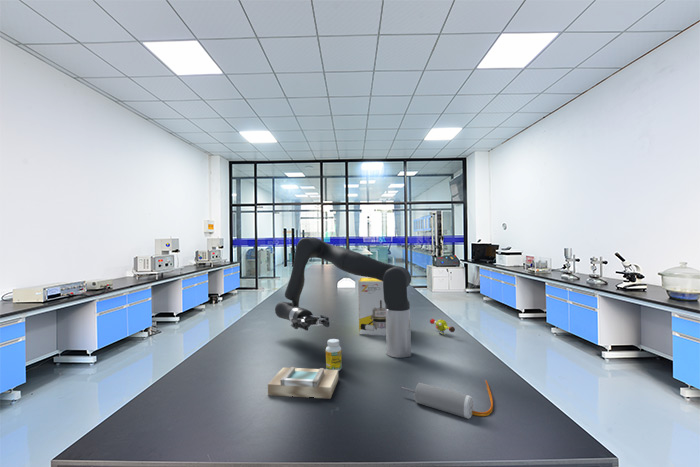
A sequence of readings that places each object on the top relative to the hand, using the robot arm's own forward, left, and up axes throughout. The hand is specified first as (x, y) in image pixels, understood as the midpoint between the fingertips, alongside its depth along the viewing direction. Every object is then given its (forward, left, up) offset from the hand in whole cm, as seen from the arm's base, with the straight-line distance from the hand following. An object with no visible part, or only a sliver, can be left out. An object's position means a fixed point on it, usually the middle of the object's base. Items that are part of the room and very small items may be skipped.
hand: (318, 326), depth 114 cm
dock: (-1, +23, -12) cm, 26 cm away
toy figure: (-50, -36, -12) cm, 63 cm away
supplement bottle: (-7, +9, -12) cm, 17 cm away
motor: (-44, +22, -13) cm, 51 cm away
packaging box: (-19, -40, -12) cm, 46 cm away
